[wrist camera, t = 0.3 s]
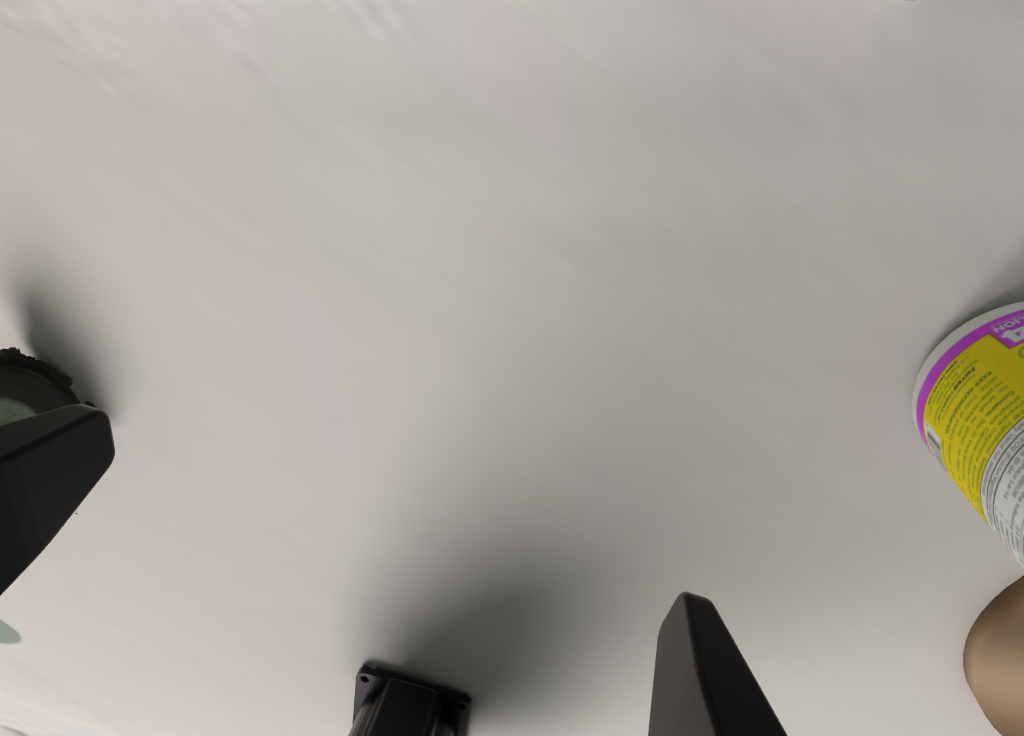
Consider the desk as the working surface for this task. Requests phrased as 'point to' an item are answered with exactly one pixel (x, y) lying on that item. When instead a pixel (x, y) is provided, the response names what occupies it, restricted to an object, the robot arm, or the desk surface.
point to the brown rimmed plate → (999, 661)
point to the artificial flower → (31, 387)
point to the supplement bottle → (980, 416)
